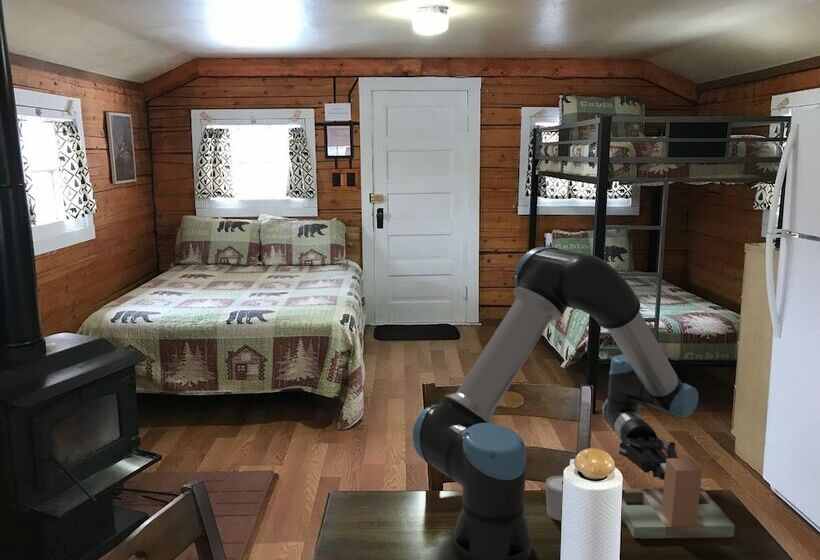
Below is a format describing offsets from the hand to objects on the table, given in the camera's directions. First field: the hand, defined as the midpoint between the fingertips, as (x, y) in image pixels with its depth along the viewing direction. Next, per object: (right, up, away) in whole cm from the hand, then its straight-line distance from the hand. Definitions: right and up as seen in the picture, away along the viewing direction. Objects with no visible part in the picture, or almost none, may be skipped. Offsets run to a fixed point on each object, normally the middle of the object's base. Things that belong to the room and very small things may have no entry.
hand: (676, 484), depth 138 cm
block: (0, -6, -1) cm, 7 cm away
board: (0, -8, +4) cm, 9 cm away
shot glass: (-22, -8, +5) cm, 24 cm away
